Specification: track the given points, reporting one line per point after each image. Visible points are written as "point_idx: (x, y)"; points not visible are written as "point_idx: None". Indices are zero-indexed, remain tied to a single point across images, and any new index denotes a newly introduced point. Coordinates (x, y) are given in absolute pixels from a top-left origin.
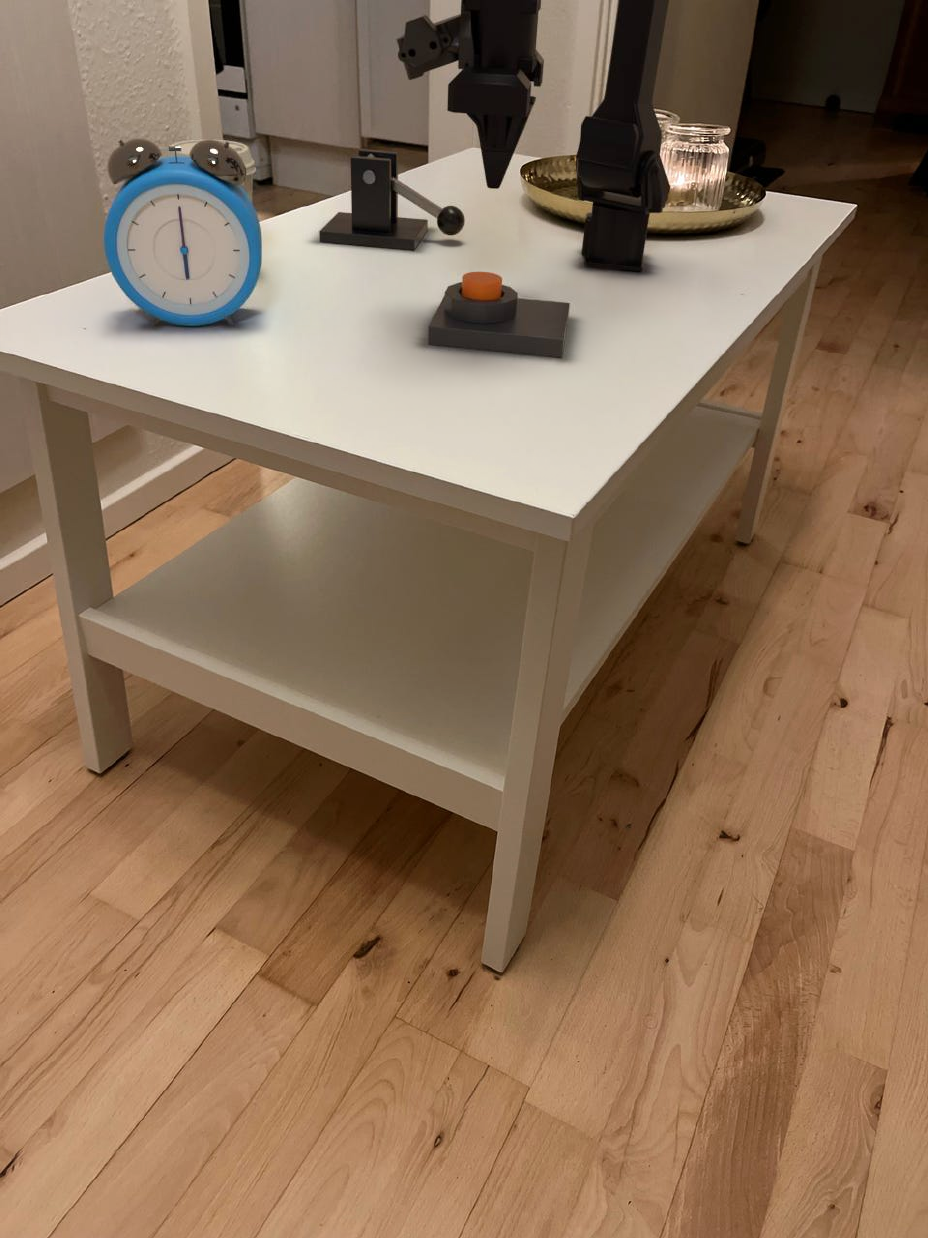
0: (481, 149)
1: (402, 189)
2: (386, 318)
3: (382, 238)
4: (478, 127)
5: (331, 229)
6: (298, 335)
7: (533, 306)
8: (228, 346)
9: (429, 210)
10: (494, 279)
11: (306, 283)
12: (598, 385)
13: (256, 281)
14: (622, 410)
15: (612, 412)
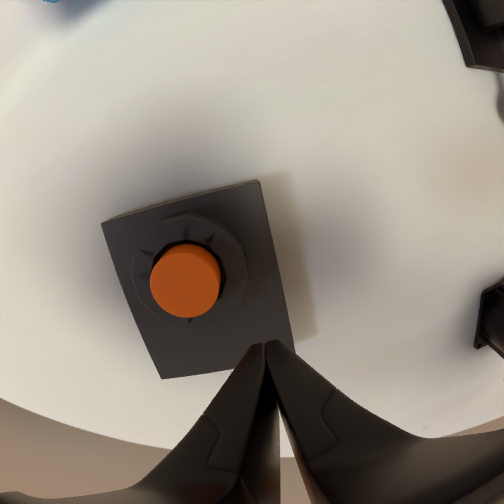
0: (200, 416)
1: None
2: (172, 119)
3: (459, 24)
4: (139, 483)
5: None
6: (70, 66)
7: (256, 322)
8: (24, 39)
9: None
10: (185, 307)
11: None
12: (126, 401)
13: (49, 1)
14: (96, 417)
15: (88, 411)
